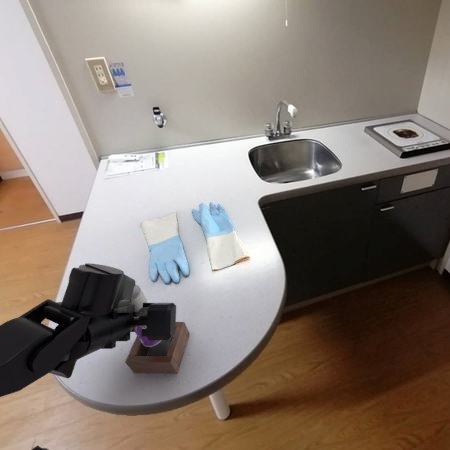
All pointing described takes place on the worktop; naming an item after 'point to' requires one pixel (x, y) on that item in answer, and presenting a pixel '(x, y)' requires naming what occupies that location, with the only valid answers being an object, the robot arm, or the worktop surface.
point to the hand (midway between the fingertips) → (145, 312)
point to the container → (138, 300)
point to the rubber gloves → (173, 247)
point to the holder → (159, 364)
